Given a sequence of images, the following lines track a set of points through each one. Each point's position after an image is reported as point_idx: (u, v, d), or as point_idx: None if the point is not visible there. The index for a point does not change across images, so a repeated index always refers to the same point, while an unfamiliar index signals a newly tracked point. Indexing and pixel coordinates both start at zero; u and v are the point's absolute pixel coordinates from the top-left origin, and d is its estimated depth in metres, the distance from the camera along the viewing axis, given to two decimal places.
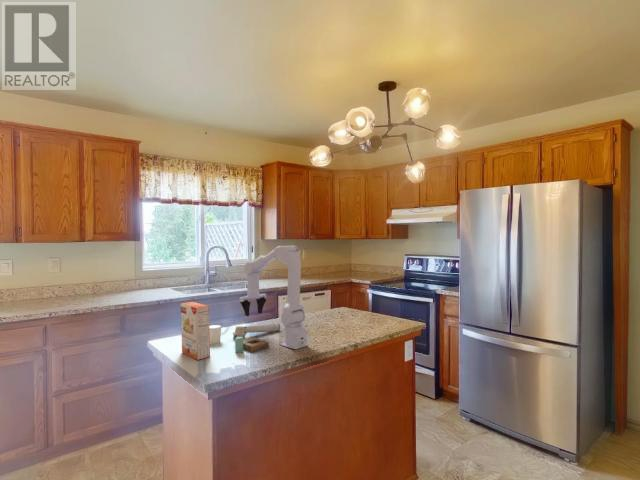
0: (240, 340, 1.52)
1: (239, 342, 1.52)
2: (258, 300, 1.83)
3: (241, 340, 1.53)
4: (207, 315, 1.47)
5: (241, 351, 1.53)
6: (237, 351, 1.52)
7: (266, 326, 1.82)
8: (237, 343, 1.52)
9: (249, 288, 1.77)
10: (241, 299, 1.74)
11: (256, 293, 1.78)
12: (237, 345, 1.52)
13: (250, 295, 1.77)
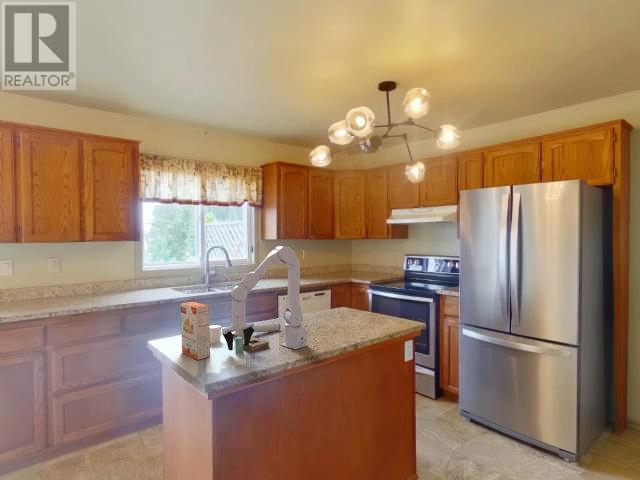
0: (240, 340, 1.52)
1: (239, 342, 1.52)
2: (245, 330, 1.57)
3: (241, 340, 1.53)
4: (207, 315, 1.47)
5: (241, 351, 1.53)
6: (237, 351, 1.52)
7: (266, 326, 1.82)
8: (237, 343, 1.52)
9: (234, 317, 1.51)
10: (224, 331, 1.48)
11: (242, 323, 1.51)
12: (237, 345, 1.52)
13: (235, 326, 1.51)
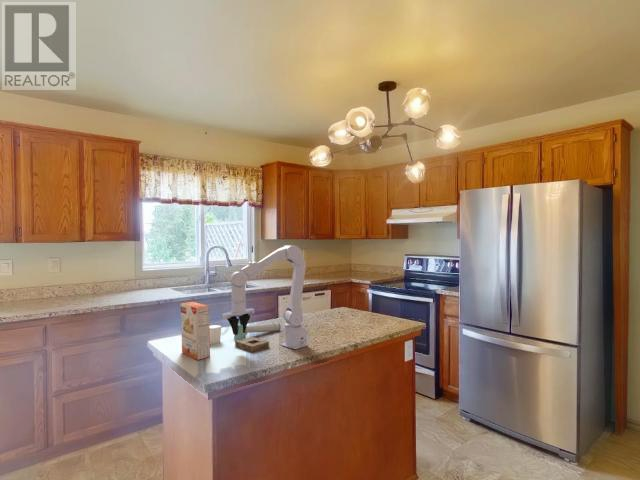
0: (240, 327, 1.52)
1: (239, 329, 1.52)
2: (241, 317, 1.55)
3: (241, 327, 1.52)
4: (207, 315, 1.47)
5: (241, 338, 1.52)
6: (237, 338, 1.52)
7: (267, 326, 1.82)
8: None
9: (234, 303, 1.51)
10: (224, 316, 1.48)
11: (242, 309, 1.51)
12: None
13: (235, 311, 1.51)
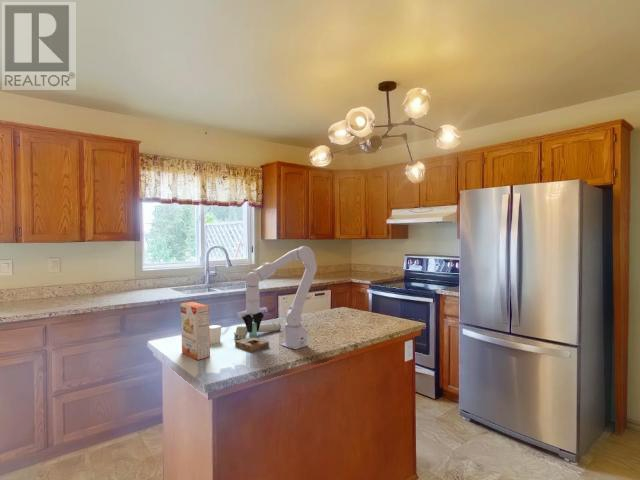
0: (254, 325, 1.59)
1: (253, 327, 1.59)
2: (255, 316, 1.62)
3: (255, 325, 1.59)
4: (207, 315, 1.47)
5: (255, 335, 1.59)
6: (251, 335, 1.59)
7: (267, 326, 1.82)
8: None
9: (248, 302, 1.57)
10: (239, 315, 1.54)
11: (256, 308, 1.58)
12: None
13: (249, 310, 1.57)
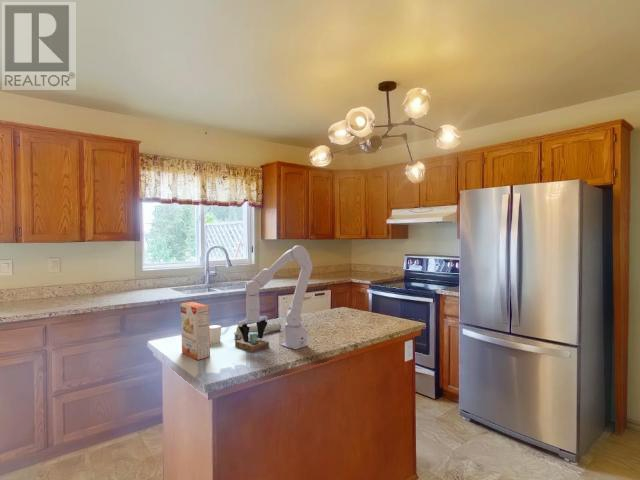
0: (254, 335, 1.59)
1: (253, 337, 1.59)
2: (258, 323, 1.63)
3: (255, 335, 1.59)
4: (207, 315, 1.47)
5: None
6: None
7: (267, 326, 1.83)
8: (251, 338, 1.59)
9: (248, 311, 1.57)
10: (239, 324, 1.54)
11: (256, 316, 1.58)
12: (251, 340, 1.59)
13: (249, 319, 1.57)
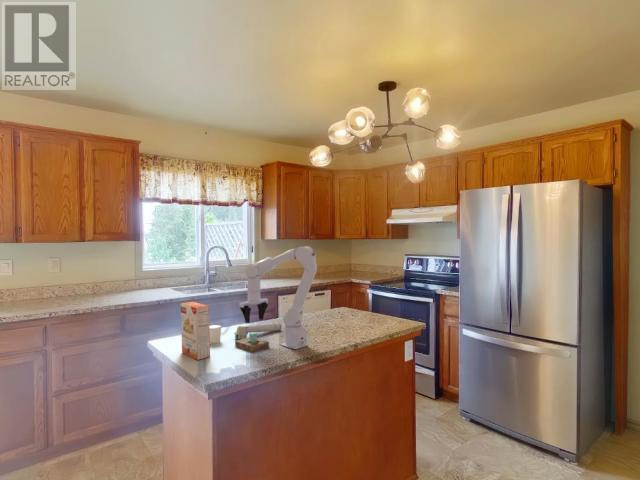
0: (254, 335, 1.59)
1: (253, 337, 1.59)
2: (259, 305, 1.70)
3: (255, 335, 1.59)
4: (207, 315, 1.47)
5: None
6: None
7: (267, 326, 1.83)
8: (251, 338, 1.59)
9: (249, 293, 1.64)
10: (241, 305, 1.61)
11: (257, 298, 1.64)
12: (251, 340, 1.59)
13: (251, 300, 1.64)
